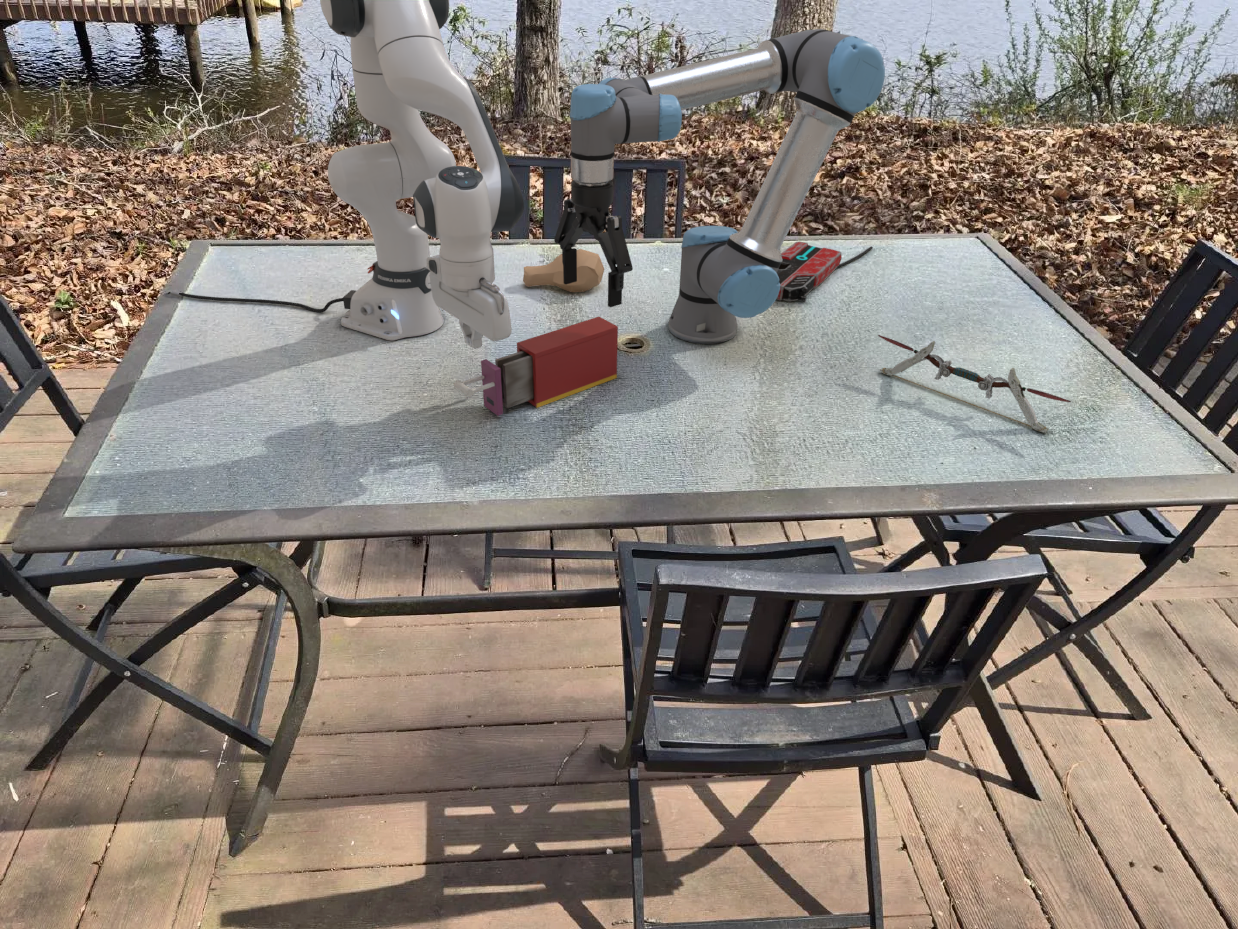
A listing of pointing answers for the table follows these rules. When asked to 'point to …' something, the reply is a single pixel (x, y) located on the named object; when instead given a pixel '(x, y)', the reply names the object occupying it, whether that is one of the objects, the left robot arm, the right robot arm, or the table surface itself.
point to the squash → (552, 273)
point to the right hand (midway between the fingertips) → (591, 293)
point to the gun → (804, 269)
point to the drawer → (503, 382)
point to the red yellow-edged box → (572, 359)
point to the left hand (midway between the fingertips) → (473, 345)
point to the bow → (983, 384)
